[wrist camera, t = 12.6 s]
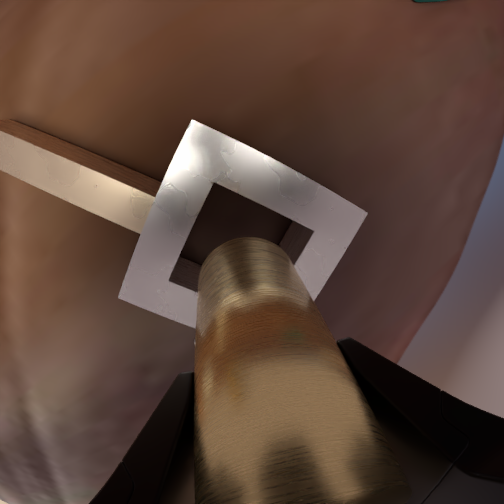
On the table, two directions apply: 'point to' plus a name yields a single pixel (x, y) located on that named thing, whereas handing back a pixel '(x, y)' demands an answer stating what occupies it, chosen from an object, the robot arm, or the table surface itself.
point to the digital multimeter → (428, 0)
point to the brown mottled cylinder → (278, 393)
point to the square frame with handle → (184, 207)
